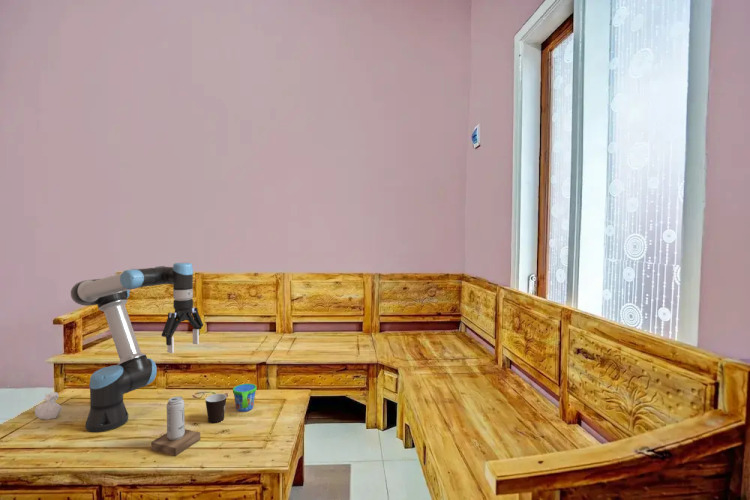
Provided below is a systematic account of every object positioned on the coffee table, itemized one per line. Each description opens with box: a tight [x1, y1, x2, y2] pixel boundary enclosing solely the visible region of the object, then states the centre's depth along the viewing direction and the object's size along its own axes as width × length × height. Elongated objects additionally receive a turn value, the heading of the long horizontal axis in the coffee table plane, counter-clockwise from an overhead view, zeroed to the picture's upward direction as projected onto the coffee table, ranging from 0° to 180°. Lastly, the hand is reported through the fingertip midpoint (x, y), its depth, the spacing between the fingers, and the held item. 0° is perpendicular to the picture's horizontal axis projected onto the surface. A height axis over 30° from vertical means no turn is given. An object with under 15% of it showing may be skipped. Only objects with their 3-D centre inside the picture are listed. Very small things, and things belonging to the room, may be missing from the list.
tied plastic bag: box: [34, 391, 63, 420], centre depth 173 cm, size 12×8×11 cm
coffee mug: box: [204, 393, 227, 424], centre depth 172 cm, size 12×9×10 cm
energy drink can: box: [166, 396, 186, 440], centre depth 150 cm, size 6×6×15 cm
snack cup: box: [232, 383, 257, 413], centre depth 182 cm, size 16×10×10 cm
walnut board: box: [150, 428, 201, 457], centre depth 151 cm, size 12×12×3 cm
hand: (183, 348), depth 167 cm, fingers open, 13 cm apart
